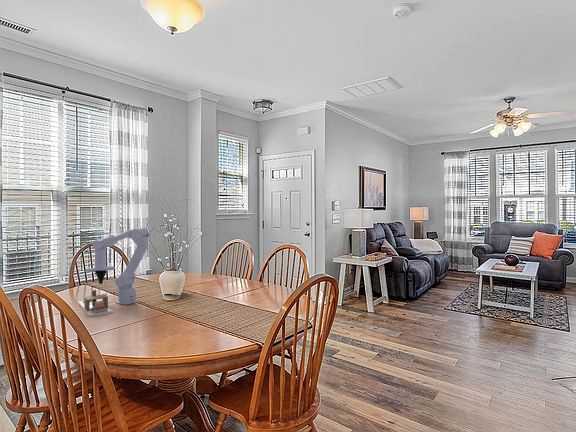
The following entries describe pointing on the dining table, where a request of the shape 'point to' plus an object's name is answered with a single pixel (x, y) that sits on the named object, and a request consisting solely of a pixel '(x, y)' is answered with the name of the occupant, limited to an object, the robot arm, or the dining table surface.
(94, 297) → the tunnel deck
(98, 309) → the sled
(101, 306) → the block
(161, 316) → the dining table surface
